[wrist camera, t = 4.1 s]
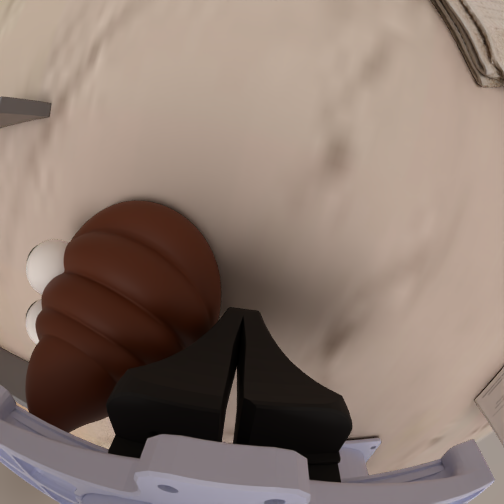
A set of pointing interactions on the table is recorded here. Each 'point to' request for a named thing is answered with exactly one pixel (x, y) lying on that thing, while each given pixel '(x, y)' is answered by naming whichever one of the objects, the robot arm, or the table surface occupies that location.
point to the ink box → (494, 404)
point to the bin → (3, 363)
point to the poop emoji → (114, 306)
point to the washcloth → (478, 36)
